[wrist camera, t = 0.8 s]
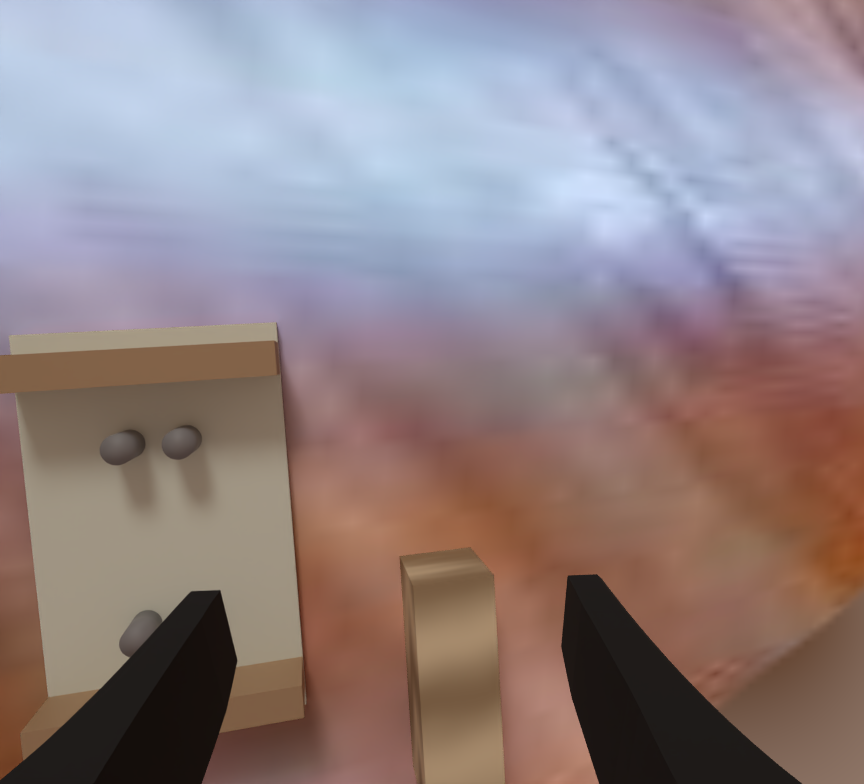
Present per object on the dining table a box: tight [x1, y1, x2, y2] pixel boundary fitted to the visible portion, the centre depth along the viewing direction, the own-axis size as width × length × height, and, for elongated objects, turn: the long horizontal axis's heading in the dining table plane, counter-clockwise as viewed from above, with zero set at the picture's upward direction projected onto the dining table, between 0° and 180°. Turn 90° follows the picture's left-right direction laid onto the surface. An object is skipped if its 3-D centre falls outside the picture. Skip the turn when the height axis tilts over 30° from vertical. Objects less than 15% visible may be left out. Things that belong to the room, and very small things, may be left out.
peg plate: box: [0, 322, 306, 761], centre depth 28 cm, size 20×12×3 cm, turn 4°
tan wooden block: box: [400, 547, 505, 784], centre depth 31 cm, size 12×4×5 cm, turn 3°
